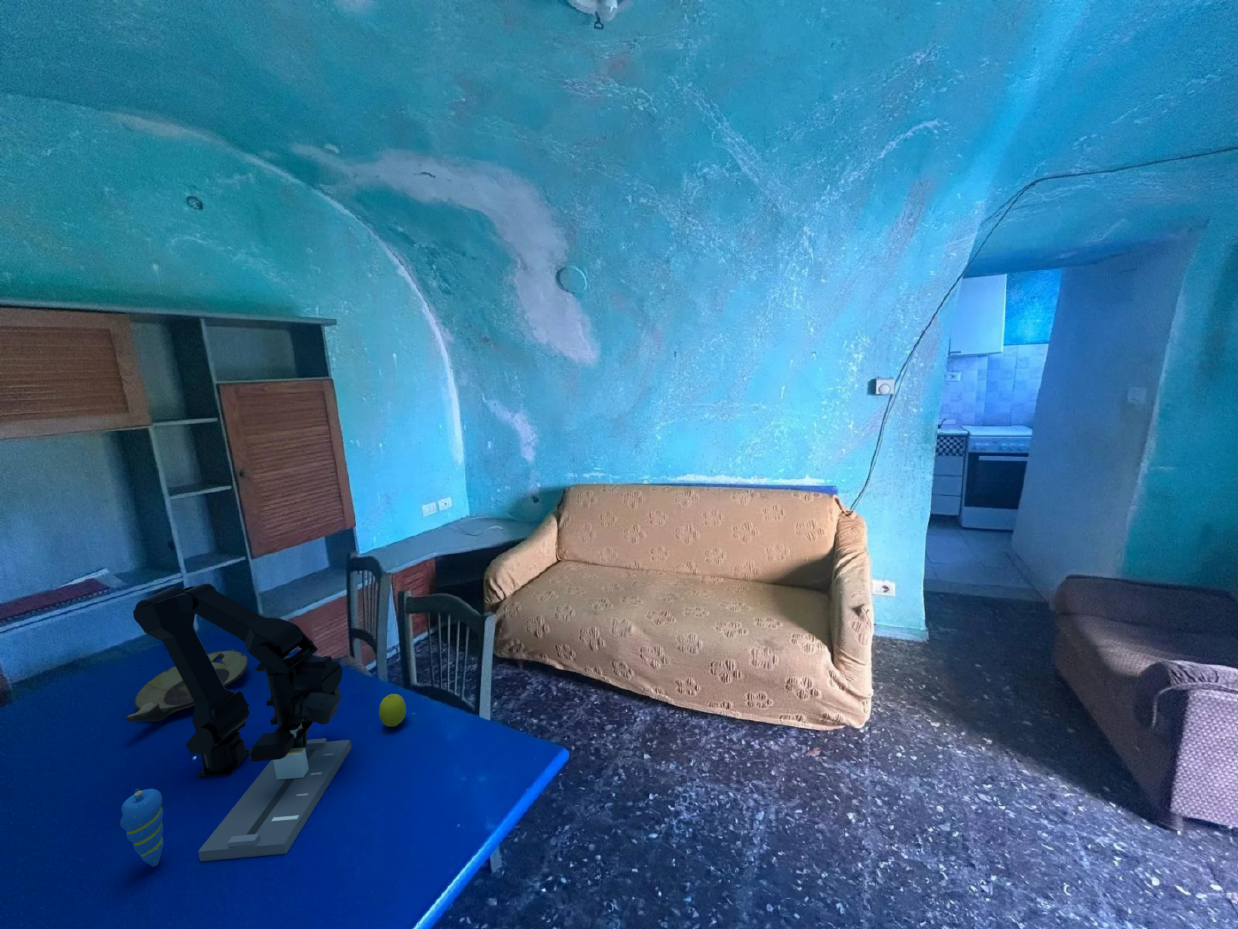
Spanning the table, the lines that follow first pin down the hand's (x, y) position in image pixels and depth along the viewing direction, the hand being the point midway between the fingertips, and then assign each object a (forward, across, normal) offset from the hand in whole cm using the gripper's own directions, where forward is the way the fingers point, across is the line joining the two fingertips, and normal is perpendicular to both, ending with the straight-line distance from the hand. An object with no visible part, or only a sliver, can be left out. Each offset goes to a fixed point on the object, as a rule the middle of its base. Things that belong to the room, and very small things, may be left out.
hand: (300, 756), depth 102 cm
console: (+4, -6, 0) cm, 7 cm away
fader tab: (+1, -3, 0) cm, 3 cm away
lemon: (+4, +12, -14) cm, 19 cm away
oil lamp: (+4, +28, +44) cm, 52 cm away
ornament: (+4, -18, +14) cm, 23 cm away
